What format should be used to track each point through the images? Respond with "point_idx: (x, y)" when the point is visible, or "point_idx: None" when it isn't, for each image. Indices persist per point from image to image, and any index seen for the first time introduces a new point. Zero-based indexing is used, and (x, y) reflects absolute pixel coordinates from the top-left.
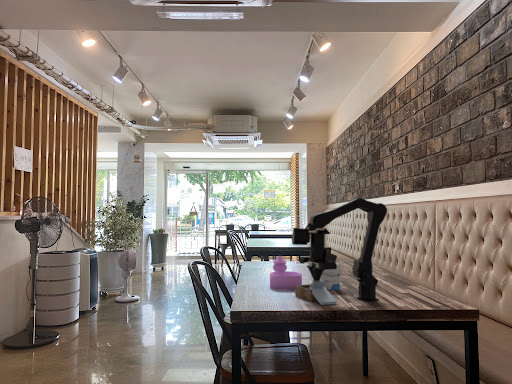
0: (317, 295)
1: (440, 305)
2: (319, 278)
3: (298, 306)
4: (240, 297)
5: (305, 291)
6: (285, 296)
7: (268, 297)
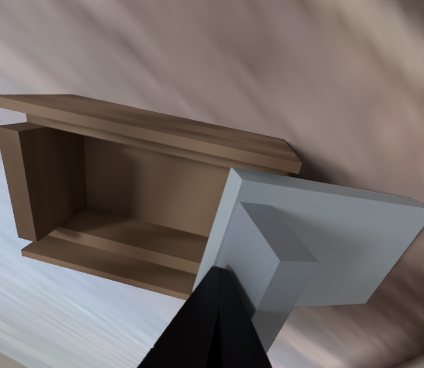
0: (310, 300)
1: None
2: (253, 343)
3: (272, 350)
4: (31, 364)
5: (170, 276)
6: None
7: (63, 313)
